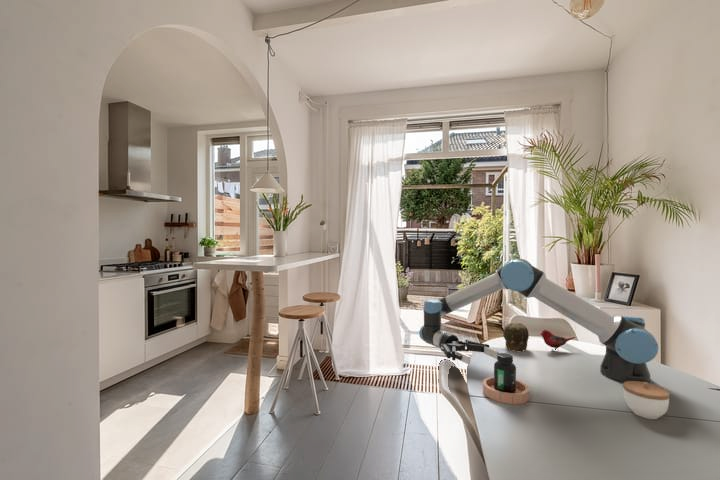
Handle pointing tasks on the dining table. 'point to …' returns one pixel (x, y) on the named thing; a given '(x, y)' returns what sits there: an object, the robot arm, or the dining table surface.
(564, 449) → the dining table surface
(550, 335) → the decorative bird figurine
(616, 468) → the dining table surface
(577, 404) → the dining table surface
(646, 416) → the lidded jar
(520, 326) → the brown rounded lump
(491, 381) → the terracotta dish
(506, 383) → the supplement bottle
